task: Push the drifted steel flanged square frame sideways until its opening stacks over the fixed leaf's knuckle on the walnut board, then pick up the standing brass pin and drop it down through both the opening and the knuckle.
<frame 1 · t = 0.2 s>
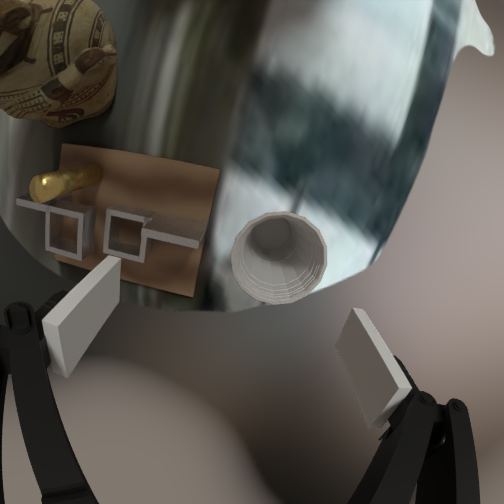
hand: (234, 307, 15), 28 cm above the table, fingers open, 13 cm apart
plastic cup: (270, 230, 43), on the table
pin: (94, 173, 38), point 1 cm above the table, touching board
ceramic vessel: (84, 72, 33), on the table
fixed leaf: (136, 226, 42), resting on board
board: (124, 217, 42), on the table
flanged square frame: (60, 221, 36), point 5 cm above the table, slide at 8.0 cm
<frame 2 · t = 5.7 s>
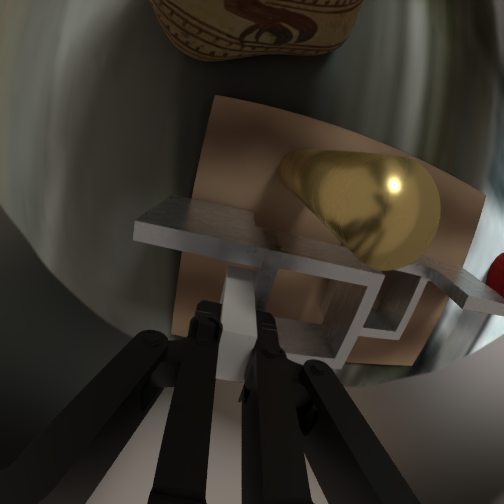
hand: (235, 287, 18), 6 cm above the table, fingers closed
plastic cup: (499, 271, 25), on the table
pin: (300, 170, 20), point 1 cm above the table, touching board
fixed leaf: (361, 273, 24), resting on board
board: (343, 257, 24), on the table
flanged square frame: (250, 277, 18), point 5 cm above the table, slide at 6.9 cm, touching gripper
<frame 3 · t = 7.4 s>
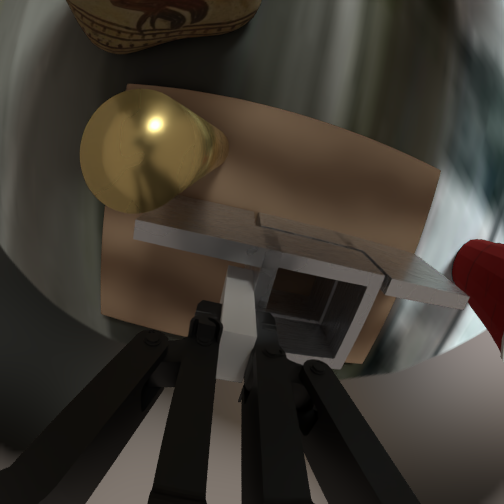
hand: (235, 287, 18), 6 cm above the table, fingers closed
plastic cup: (468, 261, 25), on the table
pin: (206, 148, 20), point 1 cm above the table, touching board
fixed leaf: (287, 257, 24), resting on board
board: (264, 239, 23), on the table
flanged square frame: (250, 276, 18), point 5 cm above the table, slide at 0.0 cm, touching gripper
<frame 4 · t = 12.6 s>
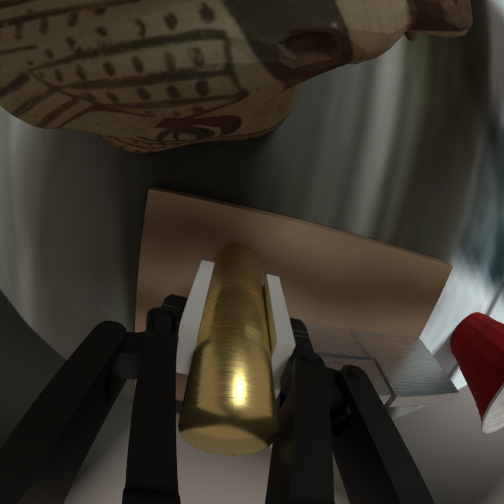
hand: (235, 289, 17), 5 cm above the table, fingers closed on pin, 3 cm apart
plastic cup: (467, 330, 26), on the table
pin: (237, 264, 21), point 1 cm above the table, touching board, gripper
ceramic vessel: (195, 34, 16), on the table
fixed leaf: (306, 346, 25), resting on board
board: (287, 334, 25), on the table
flanged square frame: (279, 384, 20), point 5 cm above the table, slide at 0.0 cm
when the fingers open (12 cm above the table, at t = 16.8 s): pin drops 6 cm, resting on board.
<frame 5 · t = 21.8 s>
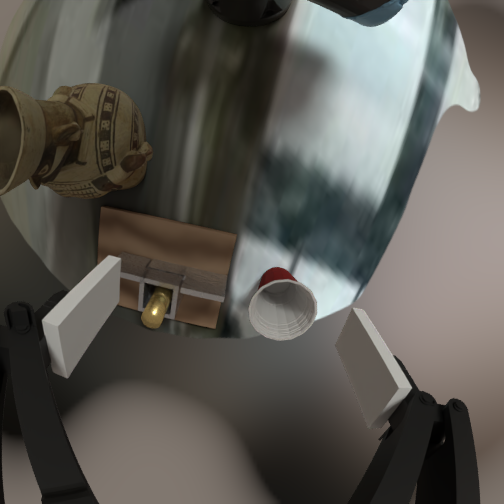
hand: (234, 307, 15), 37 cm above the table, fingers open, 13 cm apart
plastic cup: (275, 279, 56), on the table
pin: (170, 278, 54), point 1 cm above the table, touching board
ceramic vessel: (114, 142, 46), on the table
fixed leaf: (169, 275, 55), resting on board
board: (159, 268, 54), on the table
flanged square frame: (146, 284, 49), point 5 cm above the table, slide at 0.0 cm
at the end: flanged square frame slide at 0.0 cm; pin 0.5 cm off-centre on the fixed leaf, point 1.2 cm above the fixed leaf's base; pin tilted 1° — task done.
